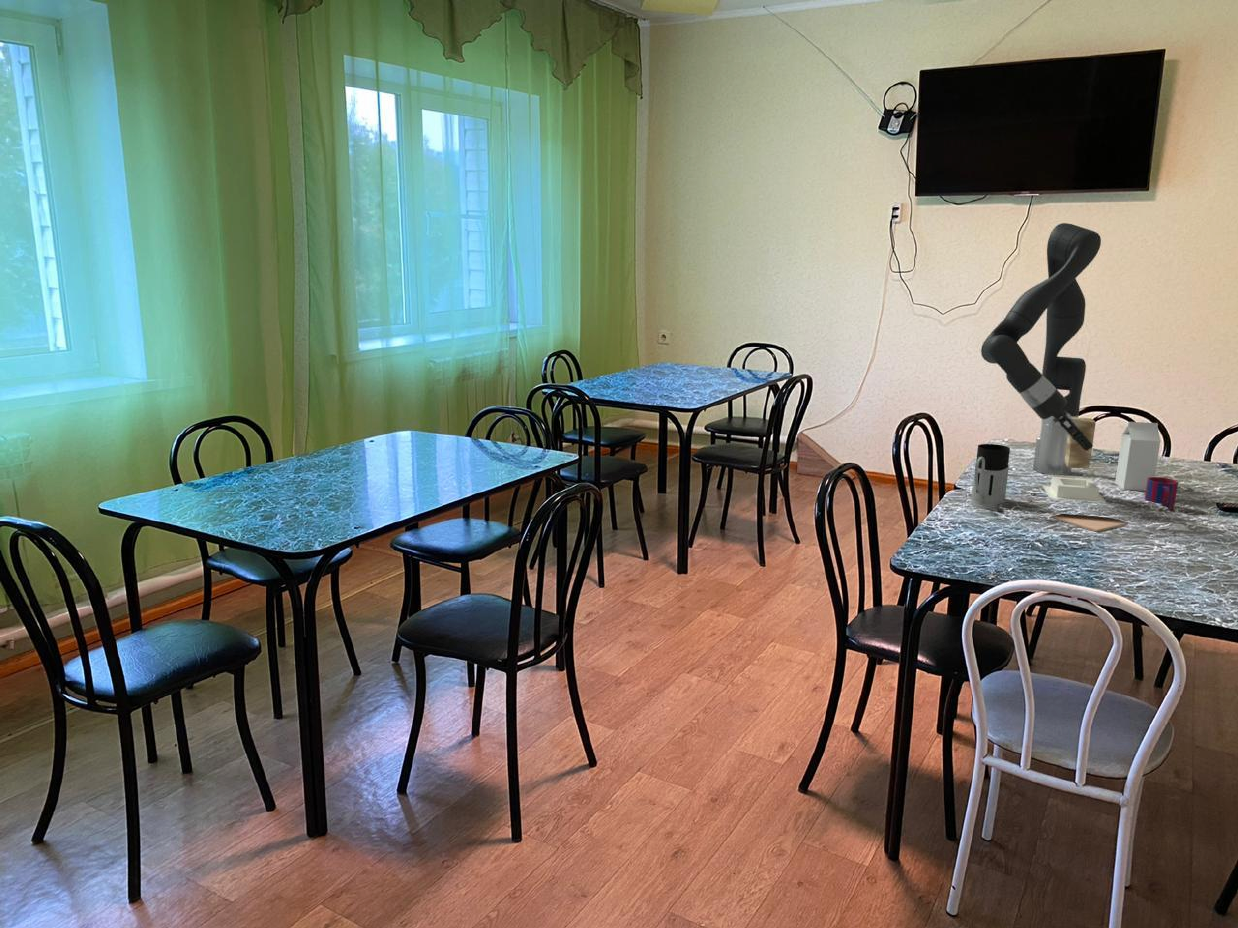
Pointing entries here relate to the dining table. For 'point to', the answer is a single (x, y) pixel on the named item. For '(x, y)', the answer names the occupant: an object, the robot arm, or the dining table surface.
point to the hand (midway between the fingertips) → (1087, 445)
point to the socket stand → (1074, 490)
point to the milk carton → (1138, 455)
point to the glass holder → (990, 476)
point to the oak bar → (1074, 450)
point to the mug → (1162, 491)
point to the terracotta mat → (1090, 521)
